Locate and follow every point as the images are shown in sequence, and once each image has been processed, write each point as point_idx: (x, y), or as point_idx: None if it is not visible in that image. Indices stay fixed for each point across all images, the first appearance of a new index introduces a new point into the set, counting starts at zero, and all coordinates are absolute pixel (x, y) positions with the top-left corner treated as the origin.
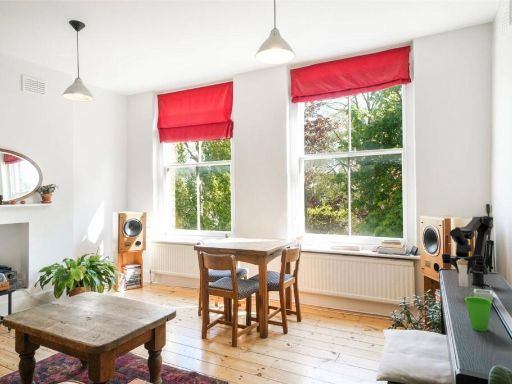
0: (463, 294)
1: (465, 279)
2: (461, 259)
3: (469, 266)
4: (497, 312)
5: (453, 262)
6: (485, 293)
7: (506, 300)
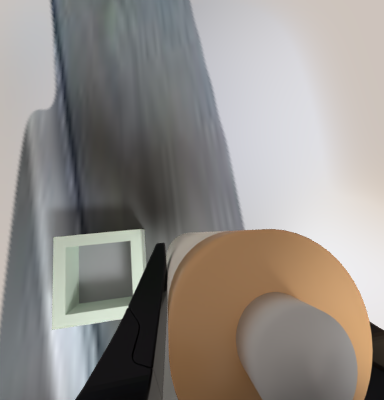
0: None
1: (180, 237)
2: (303, 299)
3: (137, 313)
4: (60, 86)
5: (380, 328)
6: (86, 238)
7: (9, 274)
